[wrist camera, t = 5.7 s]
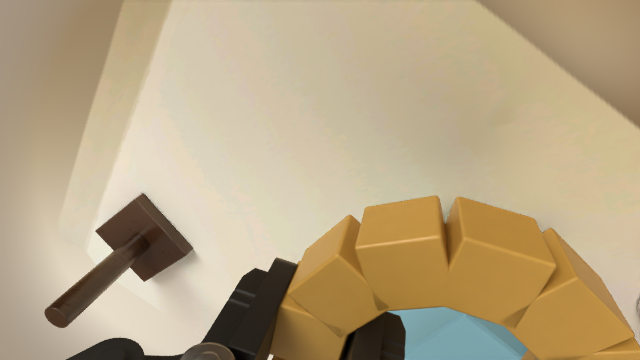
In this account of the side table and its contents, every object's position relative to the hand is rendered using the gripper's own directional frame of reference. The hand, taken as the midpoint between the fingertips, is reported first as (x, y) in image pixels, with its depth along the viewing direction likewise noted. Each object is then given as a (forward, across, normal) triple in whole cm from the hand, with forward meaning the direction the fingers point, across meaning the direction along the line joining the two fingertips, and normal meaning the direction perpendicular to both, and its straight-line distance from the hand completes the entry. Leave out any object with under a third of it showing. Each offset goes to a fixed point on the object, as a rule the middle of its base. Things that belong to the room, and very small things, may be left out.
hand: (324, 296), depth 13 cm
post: (+19, +19, +18) cm, 32 cm away
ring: (0, -4, 0) cm, 4 cm away
